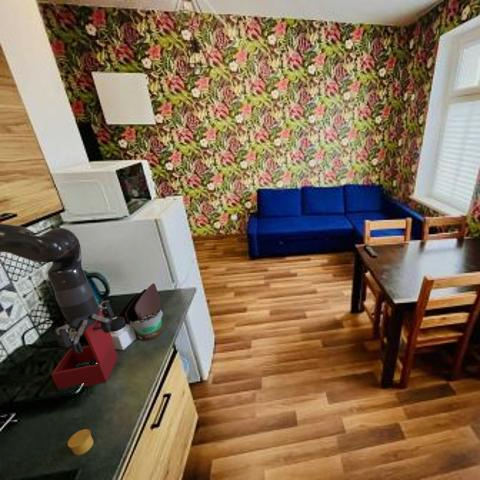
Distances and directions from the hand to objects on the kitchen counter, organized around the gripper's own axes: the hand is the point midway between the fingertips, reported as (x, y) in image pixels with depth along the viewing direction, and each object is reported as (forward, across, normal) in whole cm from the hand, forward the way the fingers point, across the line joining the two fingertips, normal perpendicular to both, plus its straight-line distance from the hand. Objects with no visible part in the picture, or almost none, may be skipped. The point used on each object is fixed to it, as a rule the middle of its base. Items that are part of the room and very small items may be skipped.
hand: (94, 341), depth 82 cm
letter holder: (+23, -35, -24) cm, 48 cm away
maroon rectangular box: (+23, -4, -16) cm, 29 cm away
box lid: (+7, -8, -11) cm, 15 cm away
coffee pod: (+23, +15, +6) cm, 29 cm away
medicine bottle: (+23, -20, -18) cm, 36 cm away
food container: (+23, -26, -9) cm, 36 cm away
